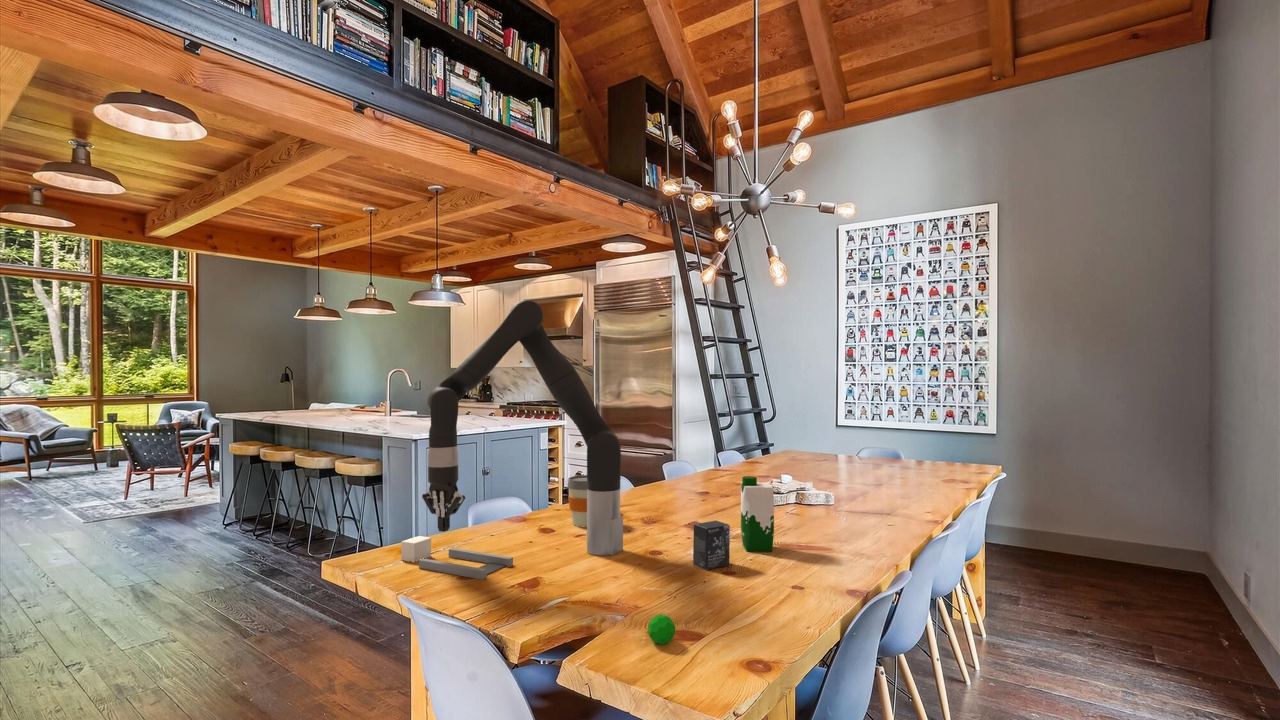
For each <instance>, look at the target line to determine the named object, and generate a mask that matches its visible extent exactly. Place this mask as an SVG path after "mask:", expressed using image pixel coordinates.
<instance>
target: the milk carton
mask: <svg viewBox="0 0 1280 720" xmlns="http://www.w3.org/2000/svg"><path fill="white" fill-rule="evenodd" d="M757 480H758V479H757V476H750V475H747V476H742V482H740V532H741V542H742V546H743V548H744V550H745V551H746V552H747V553H751V552H752V553H772V552H773V547H774V536H775V497H774V495H775V494H774V487H773V486H772V485H771V483H769V482H759V481H757Z"/></svg>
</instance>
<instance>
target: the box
mask: <svg viewBox="0 0 1280 720" xmlns="http://www.w3.org/2000/svg"><path fill="white" fill-rule="evenodd" d="M730 527H731V525H730V524H728V523H725V522H722V521H720V520H719V521H718V520H712V521H710V520H709V521H706V522H700V523H693V540H692V542H693V550H692V551H693V552H692V553H693V554H692V555H693V556H692V559H693V560H692V564H693V566H696V567H698V568H701V569H702V570H705V571H708V570H713V569H716V568H720V567H726V566H727V567H728V566H730V557H731V555H730V549H731V548H730V545H731V544H730V540H731V537H730V536H731V535H730V533H731V532H730V530H731V529H730Z"/></svg>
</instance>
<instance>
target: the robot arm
mask: <svg viewBox="0 0 1280 720" xmlns="http://www.w3.org/2000/svg"><path fill="white" fill-rule="evenodd" d="M543 321H544V312H543V309H542V307H541V306H540V304H538V303H537V302H535V301H534V300H529V299H524V300H520V301H518V302H516V303H515V304H514V305H513V306H512V307H511V309H510V311H509V313H508V314H507V316H506V317H505V319H504V320H502V323H500V324H499V326H498V327H497V328H496V330H494V332H493V333H492V334H491V335H489V337H488V338H487V339H486V340H484V342H482V344H481V345H480V346H478V347H477V348H476V349H475V350H474V351H473V352H471V354H470V355H469V356H467V357H466V358H465V359H464V361H462V362H461V363H460V364H459V365H458V366H457V368H456V369H454V371H453V372H452V373H451V374H450V375H449V376H447V377H446V378H445V379H444V380H443V381H442V382H440V383H439V384H438V385H437V386H435V388H433V390H432V391H431V392H430V393H429V394H428V397H427V405H428V408H429V410H430V427H429V429H428V452H427V453H428V454H427V482H428V484H430V485H429V487H428V491H427V492H426V493H423V494H422V496H421V498H422V500H423V501H424V504H425V505H426V507H427V509H428V510H429V512H430V513H431V514H432V515H435V516H436V518H437V529H438V532H443V533H445V532H447V531H449V529H450V528H451V521H450V520H451V516H452V515H455V514H456V513H458V511H459V509H460V508H461V506H462V504H463V503H464V501H465V500H466V496H465V495H463V494H462V495H461V494H460V493H459V488H458V486H457V483H458V481H459V451H458V431H457V425H458V416H459V402H460V400H462V399H463V397H464V396H466V395H467V394H468V393H469V392H470V391H472V390H474V389H476V387H477V386H478V385H479V384H481V383H482V381H483V380H484V379H485V378H486V377H488V375H489V374H490V373H491V372H492V371H493V370H494V369H495V368H496V366H497V365H498V364H499V362H500V361H501V360H502V359H503V358H504V356H505V355H506V354H507V353H508V352H509V351H510V350H511V349H512V348H513V347H514V346H515V345H516V344H517V343H518V342H519V343H520V345H521V346H522V347H523V348H524V349H525V351H526V352H527V353H528V355H529V356H530V358H531V359H532V362H533V364H534V365H535V367H536V369H537V371H538V373H539V375H540V377H541V379H542V380H543V382H544V384H545V385H546V388H547V389H548V391H550V394H551V395H552V398H553V399H554V400H555V401H556V403H557V404H558V406H559V407H560V408H561V409H562V410H563V412H564V413H565V414H566V415H567V416H568V417H569V418H570V419H571V421H573V423H574V424H575V426H576V427H577V429H578V431H579V433H580V435H581V437H582V438H583V440H584V443H585V445H586V475H587V527H586V552H587V553H588V554H590V555H594V556H615V555H616V554H618V553H620V552H622V551H624V516H623V515H621V480H622V479H621V477H622V476H621V472H622V471H621V467H622V466H621V465H622V463H621V458H622V454H621V453H622V451H621V450H622V449H621V447H622V446H621V443H620V439H619V438H618V436H617V435H616V433H614V431H613V430H612V429H611V428H610V427H609V425H608V423H606V421H605V420H604V418H603V417H602V416H601V414H600V412H599V411H598V410H597V408H596V406H595V403H594V401H593V399H592V396H591V395H590V393H589V390H588V389H587V387H586V386H585V383H584V381H583V380H582V378H581V377H580V374H579V373H578V372H577V370H576V368H575V367H574V365H573V364H572V363H571V361H570V360H568V358H567V357H566V356H565V355H564V354H563V353H562V352H560V350H558V349H557V347H556V346H555V345H554V344H553V342H552V340H551V339H550V338H549V335H548V333H547V332H546V331H545V328H544V326H543Z"/></svg>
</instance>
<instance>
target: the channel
mask: <svg viewBox="0 0 1280 720" xmlns="http://www.w3.org/2000/svg"><path fill="white" fill-rule="evenodd" d="M448 558H453V559H457V560H458V559H460V560H464V561H470V560H471V562H478V563H484V565H482V566H479V567H475V566H470V565H466V564H465V565H464V564H460V563H459V564H457V563H452V562H446V561H440V560H435V559H429V558H425V559H421V560H419V561H418V568H419V569H421V568H422V570H426V571H427V570H428V571H432V572H437V573H444V574H449V575H450V574H451V575H455V576H460V577H461V576H462V577H465V578H466V577H467V578H473V579H478V580H484V579H486V578H487V576H489V575H490V574H493V573H495V572H497V571H499V570H502V569H504V568H505V567H508V568H510V567H512V566H513V565H514V557H513V556H507V555H501V554H494V553H487V552H480V551H475V550H468V549H463V548H457V547H456V548H455V547H451V548H449V549H448Z"/></svg>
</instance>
